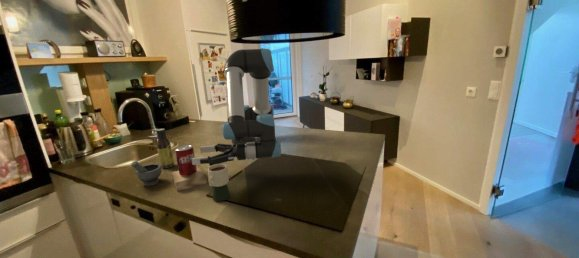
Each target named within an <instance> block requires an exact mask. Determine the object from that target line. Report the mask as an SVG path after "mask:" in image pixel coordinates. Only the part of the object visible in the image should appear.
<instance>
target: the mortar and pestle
mask: <svg viewBox="0 0 579 258" xmlns="http://www.w3.org/2000/svg"><path fill="white" fill-rule="evenodd" d="M130 166H131V167H132V168H134V169H135V174H136V176H137V178H138V179H139V180H140V181H141V182H143V183H142V184H143V185H144V186H145V187H149V186H153V185H156V184H158V183H159V182H160V178H159V177H160V176H161V174H162V168H161V164H159V163H152V164H145V165H141V164H140V163H139V161H138V160H135V161H133V162H132V163H131V164H130Z"/></svg>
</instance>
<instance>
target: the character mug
mask: <svg viewBox="0 0 579 258" xmlns="http://www.w3.org/2000/svg"><path fill="white" fill-rule="evenodd" d="M207 177H208V185H209V187H212V200H213V201H216V202H222V201H226V200H228V199H229V198H230V197H231V196H230V195H231V193H230V189H229V186H228V183H229V182H230V181H229V180H230V179H229V177H230V176H229V170H228V165H227V164H225V163H220V164H215V165H212V166H210V165H209V167H208V168H207Z"/></svg>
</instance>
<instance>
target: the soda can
mask: <svg viewBox="0 0 579 258" xmlns="http://www.w3.org/2000/svg"><path fill="white" fill-rule="evenodd" d="M174 153H175V154H174V155H175V159H176V164H177V171H179V174H180V175H181V176H183V177H187V176H191V175H194V174H195V173H196V172H197V167H196V166H197V165H193V164H192V158H196V157H195V150H194V147H193V146H192V145H190V144H189V145H188V144H187V145H185V144H184V145H181V146H177V147H176V148H175V150H174Z"/></svg>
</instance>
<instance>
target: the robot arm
mask: <svg viewBox="0 0 579 258" xmlns="http://www.w3.org/2000/svg"><path fill="white" fill-rule="evenodd" d="M223 67H224V68H223V75H224V77H225V80H226V82H225V83H226V113H227V115H226V116H227V121H226V122H223V123H222V126H221V127H222V137H223V138H224V140H226V141H228V140H231V143H232V144H231V143H227V144H226V143H217V144H216V145H207V146H206V145H205V146H200V147H199V151H200V153H201V154H202V153H213V152H215V153H217V154H216V155H213V156H210V155H208V156H201V157H200V156H199V157H195V158H192V164H193V165H196V166H198V165H206V164H208V165H209V167H210V166H212V165H215V164H225V163H227V162H233V161H234V158H236V159H237V161H245V160H253V161H254V160H256V159H257V160H258V159H269V158H270V159H272V158H277V157H280V156H281V155H282V146H281V145H282V144H281V140H279V139H276V124H275V117H274V112H275V111H274V106H273V105H271V103H270V101H269V99H270V98H269V96H270V95H269V94H270V91H269V88H270V87H269V77H271V75H272V73H273V72H274V71H275V67H274V62H273V56H272V51H271V49H270V48H262V47H261V48H252V49H251V48H250V49H249V48H246V49H243V48H242V49H238V50H235V51H234V52H232V53H231V54H230V55H229V57H227V59H226V61H225V63H224V66H223ZM245 74H249V75H250V77H251V78H252V84H253V99H254V104H253V105H252V107H251V106H250V105H249V104H245V101H244V100H245V99H244V86H243V78H244V76H245ZM255 138H258V141H255V140H256V139H255ZM218 152H221V153H219V154H218Z"/></svg>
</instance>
